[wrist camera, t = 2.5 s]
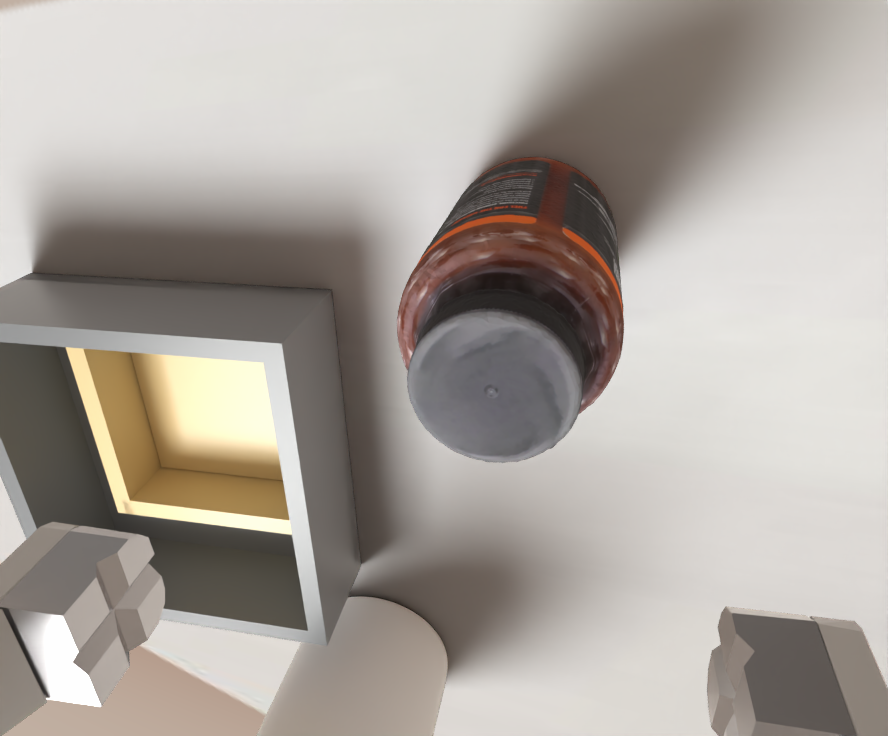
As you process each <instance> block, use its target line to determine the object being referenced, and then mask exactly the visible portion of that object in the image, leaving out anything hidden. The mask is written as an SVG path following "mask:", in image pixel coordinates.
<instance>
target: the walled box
mask: <svg viewBox="0 0 888 736" xmlns="http://www.w3.org/2000/svg"><path fill="white" fill-rule="evenodd" d="M0 476H1V478H2V481H3V483H4V486H5V488H6V490H7V493H8V495H9V498H10V500H11V503H12V505H13V507H14V510H15V512H16V515H17V517H18V520H19V522H20V524H21V527H22V529H23V532H24V534H25V537H26V539H28V538H29V537H30V536H31V535H32V534H33V533H34V532H35V531H36V530H37V529H38V528H39V527H40V526H43V525H46V524H48V523H51V522H58V523H64V524H71V525H78V526H88V527H94V528H101V529H107V530H114V531H120V532H127V533H134V534H139V535H143V536H146V537H148V538H149V540H150V543H151V546H152V548H153V551H154V556H153V557H152V559H151V561H150V562H149V564H150V565H151V566H152V567H153V568H154V569H155V570H156V571H157V572H158V573H159V574H160V575H161V576H162V580H163V583H164V587H165V605H164V608H163V611H162V614H161V617H160V620H165V621H172V622H178V623H184V624H191V625H197V626H203V627H209V628H216V629H222V630H228V631H235V632H241V633H247V634H254V635H260V636H266V637H273V638H279V639H285V640H292V641H298V642H304V643H311V644H317V645H323V646H327V645H328V643H329V641H330V638H331V636H332V634H333V631H334V629H335V626H336V624H337V622H338V619H339V617H340V615H341V612H342V610H343V607H344V605H345V603H346V600H347V598H348V596H349V593H350V591H351V588H352V586H353V584H354V581H355V579H356V577H357V574H358V572H359V570H360V567H361V559H360V550H359V540H358V531H357V522H356V512H355V503H354V494H353V484H352V475H351V466H350V456H349V447H348V438H347V428H346V419H345V409H344V400H343V391H342V381H341V372H340V363H339V353H338V344H337V335H336V325H335V316H334V307H333V297H332V290H327V289H309V288H291V287H273V286H256V285H238V284H220V283H202V282H184V281H166V280H148V279H130V278H113V277H95V276H77V275H59V274H41V273H30V274H28V275H26V276H24V277H22V278H20V279H18V280H16V281H13V282H11V283H9V284H7V285H5V286H3V287H1V288H0Z"/></svg>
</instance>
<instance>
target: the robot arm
mask: <svg viewBox="0 0 888 736" xmlns="http://www.w3.org/2000/svg"><path fill="white" fill-rule="evenodd" d="M153 556H154V551H153V548H152V546H151V543H150V540H149V538H148V537H146V536H143V535H139V534H134V533H127V532H120V531H114V530H107V529H101V528H94V527H88V526H78V525H71V524H64V523H58V522H51V523H48V524H46V525H43V526H40V527H39V528H38V529H37V530H36V531H35V532H34V533H33V534H32V535H31V536H30V537H29V538H28V539H27V540H26V541H24V542H23V543H22V544H21V545H20V546H19V547H18V548H17V549H16V550H15V551H14V552H13V553H12V554H11V555H10V556H9V557H8V558H7V559H6V560H5V561H4V562H3V563H1V564H0V736H2V735H3V734H5V733H6V732H7V731H9V730H10V729H12V728H13V727H14V726H16V725H17V724H18V723H20V722H21V721H23V720H24V719H25V718H27V717H28V716H29V715H31V714H32V713H33V712H35V711H36V710H38V709H39V708H40V707H42V706H43V705H44V704H46V703H47V700H46V699H50V700H58V701H65V702H71V703H79V704H86V705H93V706H99V707H101V706H102V705H103V704H104V702H105V701H106V699H107V698H108V696H109V695H110V694H111V692H112V691H113V689H114V688H115V686H116V685H117V683H118V682H119V681H120V679H121V678H122V676H123V675H124V673H125V672H126V670H127V669H128V668H129V666H130V662H129V651H130V650H132V649H134V648H135V647H137V646H139V645H140V644H142V643H143V642H145V641H147V640H148V638H149V637H150V635H151V634H152V632H153V631H154V629H155V628H156V626H157V625H158V623H159V620H160V617H161V614H162V611H163V608H164V605H165V587H164V583H163V580H162V576H161V575H160V574H159V573H158V572H157V571H156V570H155V569H154V568H153V567H152V566H151V565H150V564H149V562H150V561H151V559H152V557H153ZM718 631H719V637H720V642H721V645H720V646H718V647H717V648H715V649H714V650H712V653H711V658H710V663H709V668H708V683H707V696H708V708H709V715H710V722H711V727H712V729H713V730H714V731H715V732H716V733H717V735H718V736H888V687H887V685H886V683H885V680H884V678H883V676H882V673H881V671H880V669H879V666H878V664H877V662H876V660H875V657H874V655H873V653H872V650H871V648H870V646H869V643H868V641H867V639H866V636H865V634H864V632H863V630H862V628H861V627H860V626H859V625H858V624H857V623H856V622H855V621H847V620H839V619H830V618H822V617H813V616H811V617H808V616H806V615H797V614H788V613H779V612H771V611H762V610H753V609H744V608H735V607H727V606H726V607H725V608H724V610H723V611H722V613H721V616H720V620H719V624H718Z"/></svg>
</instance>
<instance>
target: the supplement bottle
mask: <svg viewBox="0 0 888 736" xmlns="http://www.w3.org/2000/svg"><path fill="white" fill-rule="evenodd" d="M397 333H398V341H399V347H400V350H401V354H402V358H403V361H404V364H405V366H406V368H407V370H408V376H407V381H408V386H407V387H408V392H409V397H410V401H411V404H412V406H413V408H414V411H415V413H416V415H417V416H418V418H419V420H420V421H421V423H422V424H423V425H424V427H425V428H426V429H427V430H428V431H429V432H430V433H431V434H432V435H433V436H434V437H435V438H436V439H437V440H438V441H440V442H441V443H443V444H444V445H445V446H447V447H448V448H450V449H452V450H453V451H455V452H457V453H460V454H462V455H464V456H467V457H470V458H474V459H478V460H483V461H486V462H502V463H504V462H518V461H521V460H525V459H528V458H531V457H534V456H536V455H538V454H540V453H543V452H544V451H546V450H547V449H551V448H552V447H554V446H555V445H556V443H557V442H559V441H560V440H561V439H562V438H564V436H565V435H566V434H567V433H568V432H569V430H570V429H571V428H572V426H573V424H574V422H575V420H576V418H577V416H578V414H579V413H581V412H582V411H583V410H585V409H586V408H587V407H588V406H590V405H591V404H593V403H594V401H595V400H596V399H597V398H598V397H599V396H600V395H601V393H602V392H603V390H604V389H605V388H606V386H607V384H608V383H609V381H610V379H611V378H612V376H613V374H614V371H615V369H616V367H617V364H618V362H619V359H620V355H621V350H622V344H623V333H624V320H623V303H622V292H621V280H620V268H619V257H618V246H617V235H616V227H615V223H614V219H613V216H612V213H611V210H610V208H609V206H608V204H607V202H606V199H605V197H604V196H603V194H602V193H601V191H600V190H599V189H598V187H597V186H596V184H594V183H593V182H592V181H591V180H590V179H589V178H588V177H587V176H585V175H584V174H583V173H581V172H580V171H578V170H577V169H575V168H573V167H571V166H569V165H567V164H565V163H562V162H559V161H556V160H552V159H548V158H541V157H528V158H520V159H514V160H510V161H507V162H504V163H502V164H499V165H497V166H495V167H493V168H491V169H490V170H488V171H486V172H485V173H483V174H482V175H481V176H479V177H478V178H477V179H476V180H475V181H474V182H473V183H472V184H471V185H470V186H469V187H468V188H467V189H466V191H465V192H464V193H463V194H462V196H461V197H460V199H459V200H458V202H457V203H456V205H455V206H454V208H453V210H452V211H451V212H450V214H449V216H448V218H447V219H446V221H445V222H444V223H443V225H442V227H441V228H440V229H439V231H438V233H437V234H436V236H435V237H434V238H433V240H432V242H431V243H430V245H429V246H428V247H427V249H426V251H425V252H424V254H423V255H422V257H421V259H420V261H419V263H418V264H417V266H416V268H415V269H414V271H413V272H412V274H411V276H410V278H409V280H408V282H407V284H406V287H405V289H404V292H403V294H402V298H401V302H400V306H399V311H398V317H397Z"/></svg>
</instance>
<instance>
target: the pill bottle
mask: <svg viewBox="0 0 888 736" xmlns="http://www.w3.org/2000/svg"><path fill="white" fill-rule="evenodd" d="M447 670H448V659H447V654H446V650H445V647H444V644H443V642H442V640H441V638H440V637H439V635H438V634H437V633H436V631H435V630H434V629H433V628H432V627H431V626H430V625H429V624H428V623H427V622H426V621H425V620H424V619H423V618H421V617H420V616H419V615H417V614H416V613H414V612H413V611H411V610H409V609H407V608H405V607H403V606H401V605H399V604H396V603H394V602H391V601H388V600H384V599H380V598H374V597H363V596H358V597H348V598H347V600H346V603H345V605H344V607H343V610H342V612H341V615H340V617H339V619H338V622H337V624H336V626H335V629H334V631H333V634H332V636H331V638H330V641H329V643H328V645H327V646H323V645H317V644H311V643H304V642H301V643H300V645H299V648H298V650H297V652H296V654H295V656H294V658H293V660H292V662H291V664H290V666H289V668H288V670H287V673H286V675H285V677H284V679H283V681H282V683H281V685H280V687H279V689H278V691H277V693H276V695H275V698H274V700H273V702H272V704H271V706H270V708H269V710H268V712H267V714H266V716H265V718H264V721H263V723H262V725H261V727H260V729H259V731H258V733H257V735H256V736H433V734H434V729H435V725H436V721H437V717H438V713H439V709H440V704H441V700H442V696H443V692H444V688H445V684H446V678H447Z"/></svg>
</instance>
